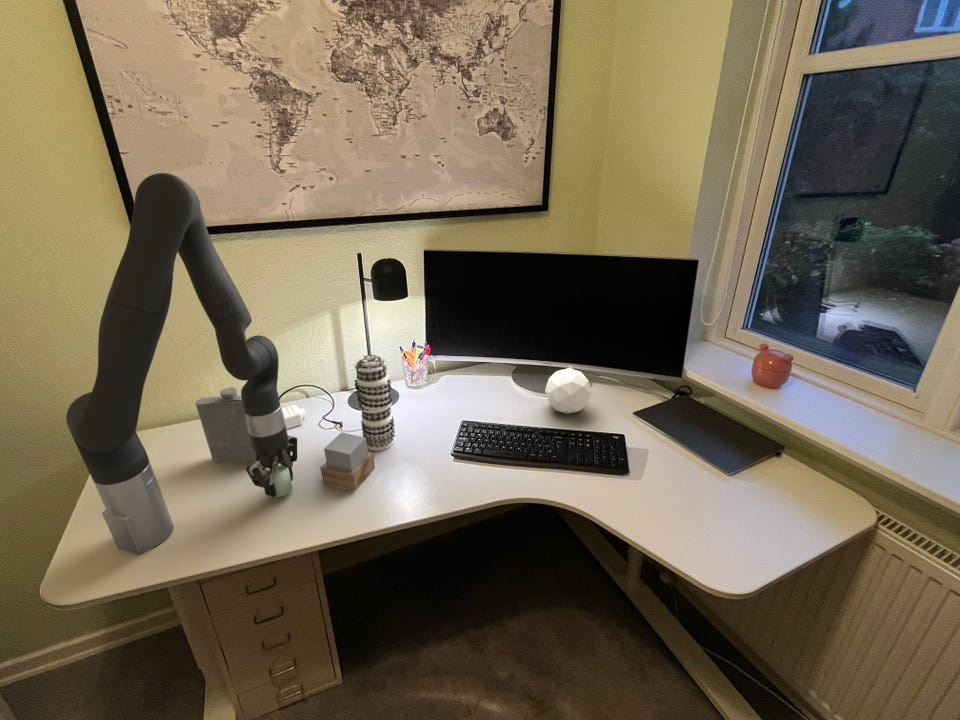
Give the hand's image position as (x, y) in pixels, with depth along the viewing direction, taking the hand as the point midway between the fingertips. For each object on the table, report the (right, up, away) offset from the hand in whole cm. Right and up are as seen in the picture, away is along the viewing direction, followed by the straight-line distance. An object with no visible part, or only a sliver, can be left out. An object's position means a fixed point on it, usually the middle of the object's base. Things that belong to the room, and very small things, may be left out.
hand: (280, 487), depth 112 cm
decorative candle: (+19, +7, +20) cm, 28 cm away
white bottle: (-11, +10, +27) cm, 31 cm away
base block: (+14, +1, +7) cm, 16 cm away
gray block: (+14, +5, +5) cm, 16 cm away
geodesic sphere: (+73, +14, +34) cm, 82 cm away
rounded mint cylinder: (0, 0, 0) cm, 0 cm away
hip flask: (-15, +4, +14) cm, 21 cm away
